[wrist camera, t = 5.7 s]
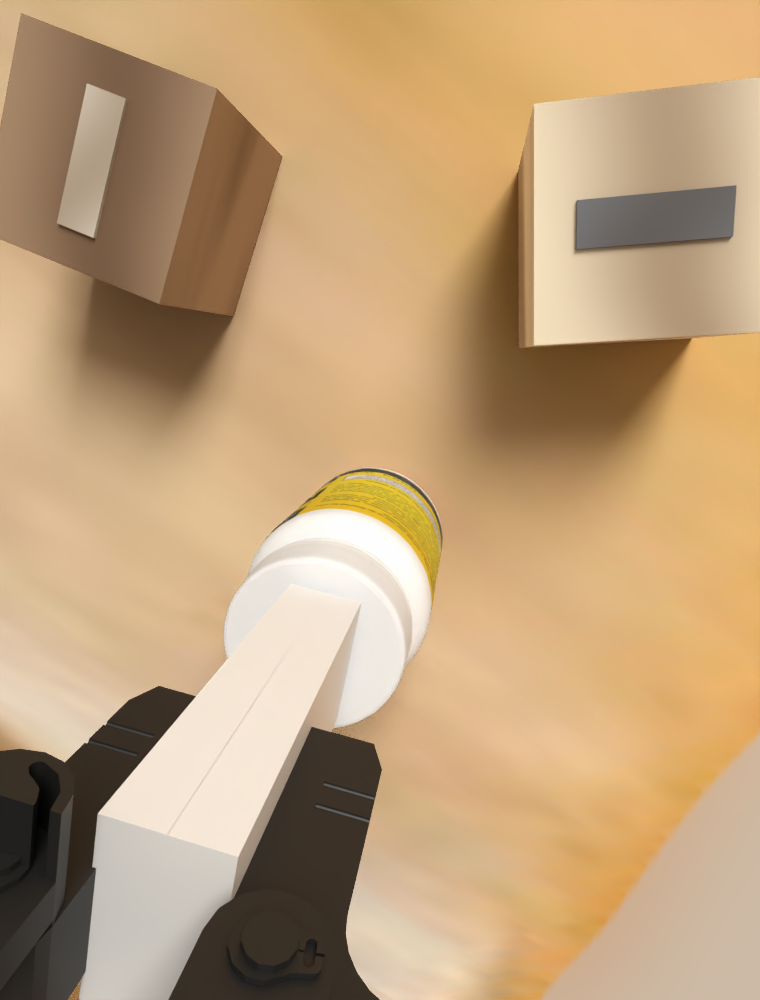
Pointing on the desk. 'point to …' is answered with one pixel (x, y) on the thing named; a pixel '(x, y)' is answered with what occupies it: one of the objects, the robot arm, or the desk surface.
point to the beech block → (641, 216)
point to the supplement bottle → (354, 575)
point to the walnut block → (130, 171)
